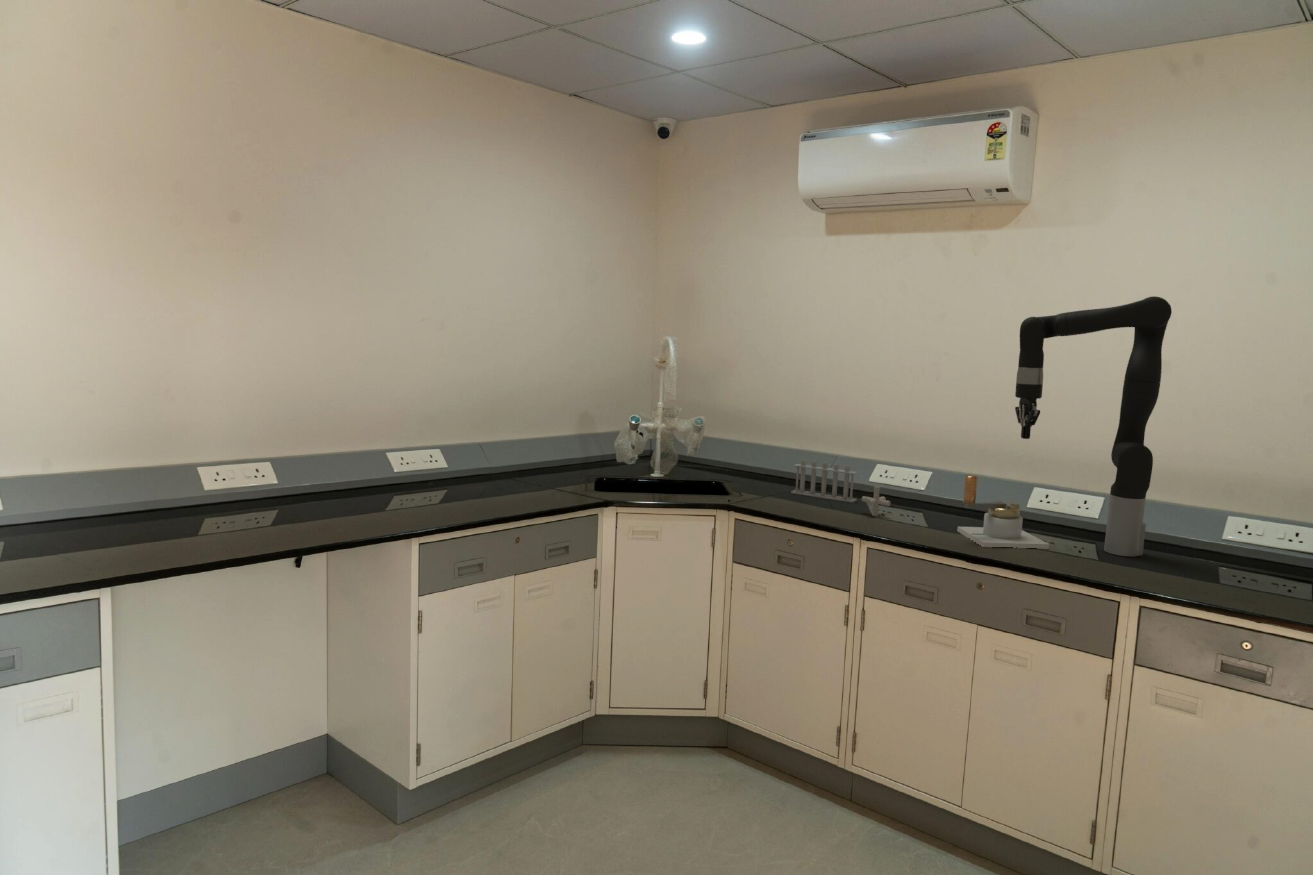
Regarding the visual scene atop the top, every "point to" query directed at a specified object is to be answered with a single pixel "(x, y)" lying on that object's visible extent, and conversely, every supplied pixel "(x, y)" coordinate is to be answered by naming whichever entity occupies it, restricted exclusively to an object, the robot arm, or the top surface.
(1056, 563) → the top surface
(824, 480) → the test tube rack
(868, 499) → the pipe connector
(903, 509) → the top surface
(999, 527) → the cylinder on square plate
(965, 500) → the lever-handled chuck
